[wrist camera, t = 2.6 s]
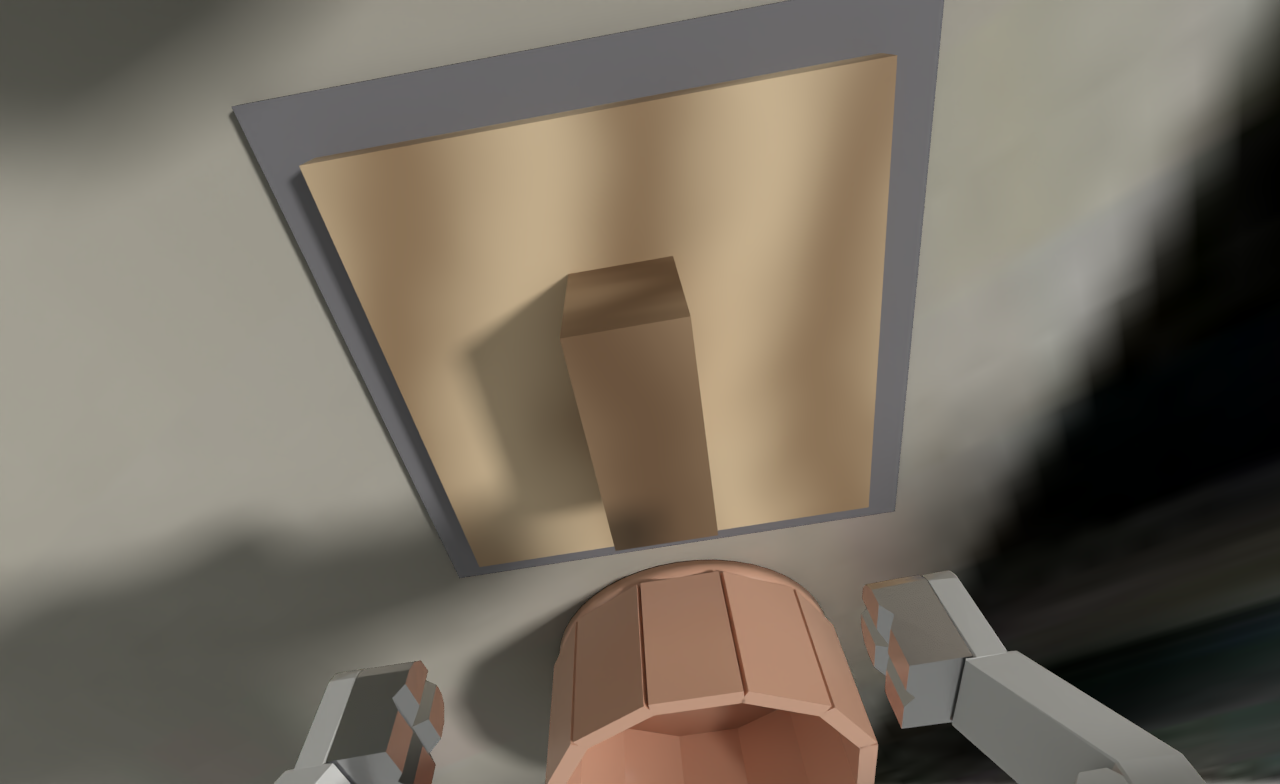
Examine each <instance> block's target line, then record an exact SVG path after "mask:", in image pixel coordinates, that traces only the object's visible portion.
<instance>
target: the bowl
mask: <svg viewBox="0 0 1280 784" xmlns="http://www.w3.org/2000/svg"><path fill="white" fill-rule="evenodd" d="M877 752H878V743H877V740H876V737H875V735H874V732H873V729H872V727H871V724H870V722H869V719H868V716H867V714H866V711H865V708H864V706H863V703H862V700H861V698H860V695H859V692H858V690H857V687H856V684H855V682H854V679H853V677H852V674H851V671H850V669H849V666H848V663H847V661H846V658H845V655H844V653H843V650H842V647H841V645H840V642H839V639H838V637H837V634H836V632H835V629H834V627H833V624H832V623H831V622H830V621H828V620H827V619H826V618H825V615H824V613H823V611H822V609H821V607H820V605H819V604H818V602H817V601H816V600H815V598H814V597H813V596H812V595H811V594H810V593H809V592H808V591H807V590H806V589H805V588H803V587H802V586H801V585H800V584H798V583H797V582H795V581H793V580H792V579H790V578H788V577H787V576H785V575H782V574H780V573H777V572H775V571H773V570H770V569H767V568H763V567H760V566H757V565H752V564H747V563H741V562H735V561H723V560H696V561H686V562H677V563H672V564H667V565H662V566H657V567H654V568H651V569H647V570H644V571H641V572H638V573H635V574H633V575H630V576H628V577H625V578H623V579H621V580H619V581H617V582H615V583H613V584H611V585H610V586H608V587H606V588H604V589H603V590H602V591H600V592H599V593H597V594H596V595H594V596H593V597H592V598H591V599H589V600H588V601H587V602H586V603H585V604H584V605H583V606H582V607H581V608H580V609H579V610H578V611H577V612H576V614H575V615H574V616H573V617H572V619H571V620H570V622H569V624H568V625H567V627H566V629H565V631H564V634H563V637H562V639H561V645H560V652H559V656H558V658H557V660H556V662H555V665H554V673H553V687H552V700H551V713H550V727H549V740H548V753H547V766H546V780H545V784H874V780H875V771H876V761H877Z"/></svg>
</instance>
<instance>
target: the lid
mask: <svg viewBox="0 0 1280 784" xmlns="http://www.w3.org/2000/svg"><path fill="white" fill-rule="evenodd" d="M896 69H897V55H892V54H885V53H878V54H873V55H868V56H862V57H857V58H851V59H846V60H841V61H835V62H830V63H825V64H819V65H814V66H808V67H803V68H798V69H792V70H787V71H781V72H776V73H771V74H765V75H760V76H754V77H749V78H744V79H738V80H733V81H727V82H722V83H717V84H711V85H706V86H700V87H695V88H690V89H684V90H679V91H673V92H668V93H663V94H657V95H652V96H646V97H641V98H636V99H630V100H625V101H619V102H614V103H609V104H603V105H598V106H592V107H587V108H582V109H576V110H571V111H565V112H560V113H555V114H549V115H544V116H538V117H533V118H528V119H522V120H517V121H511V122H506V123H501V124H495V125H490V126H484V127H479V128H474V129H468V130H463V131H457V132H452V133H447V134H441V135H436V136H430V137H425V138H420V139H414V140H409V141H403V142H398V143H393V144H387V145H382V146H376V147H371V148H366V149H360V150H355V151H349V152H344V153H339V154H333V155H328V156H322V157H317V158H314V159H312V160H310V161H308V162H306V163H304V164H302V165H300V166H299V167H300V169H301V171H302V174H303V176H304V178H305V180H306V183H307V185H308V187H309V189H310V191H311V194H312V196H313V198H314V200H315V203H316V205H317V207H318V209H319V211H320V214H321V216H322V218H323V220H324V223H325V225H326V227H327V229H328V231H329V234H330V236H331V238H332V240H333V243H334V245H335V247H336V249H337V251H338V254H339V256H340V258H341V260H342V263H343V265H344V267H345V269H346V271H347V274H348V276H349V278H350V280H351V283H352V285H353V287H354V289H355V291H356V294H357V296H358V298H359V300H360V303H361V305H362V307H363V309H364V311H365V314H366V316H367V318H368V320H369V323H370V325H371V327H372V329H373V331H374V334H375V336H376V338H377V340H378V343H379V345H380V347H381V349H382V351H383V354H384V356H385V358H386V360H387V363H388V365H389V367H390V369H391V371H392V374H393V376H394V378H395V380H396V383H397V385H398V387H399V389H400V391H401V394H402V396H403V398H404V400H405V403H406V405H407V407H408V409H409V411H410V414H411V416H412V418H413V420H414V423H415V425H416V427H417V429H418V431H419V434H420V436H421V438H422V440H423V443H424V445H425V447H426V449H427V451H428V454H429V456H430V458H431V460H432V463H433V465H434V467H435V469H436V471H437V474H438V476H439V478H440V480H441V483H442V485H443V487H444V489H445V491H446V494H447V496H448V498H449V500H450V503H451V505H452V507H453V509H454V511H455V514H456V516H457V518H458V520H459V523H460V525H461V527H462V529H463V531H464V534H465V536H466V538H467V540H468V543H469V545H470V547H471V549H472V551H473V554H474V556H475V558H476V560H477V563H478V565H479V567H484V566H490V565H497V564H503V563H510V562H516V561H523V560H529V559H536V558H542V557H549V556H555V555H562V554H568V553H575V552H581V551H588V550H594V549H601V548H607V547H615V551H619V550H625V549H632V548H638V547H645V546H652V545H658V544H665V543H671V542H678V541H684V540H691V539H697V538H704V537H710V536H717V535H718V530H724V529H731V528H737V527H744V526H750V525H756V524H763V523H769V522H776V521H782V520H789V519H795V518H802V517H808V516H815V515H821V514H828V513H834V512H841V511H847V510H854V509H860V508H867V507H869V493H870V477H871V462H872V446H873V430H874V415H875V399H876V383H877V367H878V352H879V336H880V320H881V305H882V289H883V273H884V257H885V242H886V226H887V210H888V195H889V179H890V163H891V147H892V132H893V116H894V100H895V85H896Z"/></svg>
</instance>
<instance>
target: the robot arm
mask: <svg viewBox="0 0 1280 784" xmlns="http://www.w3.org/2000/svg"><path fill="white" fill-rule="evenodd" d="M862 599H863V601H864V603H865V605H866V607H867V608H866V610H865V611H864V612H863V613H862V614H861V627H862V632H863V638H864V642H865V645H866V648H867V651H868V654H869V656H870V659H871V661H872V663H873V666H874V667H875V668H876V669H877V670H879V671H880V672H881V673H883V674H884V675H885V676H886V681H885V693H886V695H887V697H888V700H889V702H890V704H891V706H892V709H893V711H894V713H895V715H896V718H897V720H898V722H899V724H900V726H901V729H903V728H911V727H918V726H926V725H933V724H941V723H949V722H952V725H953V726H954V727H955V728H956V729H957V730H958V731H959V732H960V733H962V734H963V735H964V736H965V737H966V738H967V739H968V740H970V741H971V742H972V743H973V744H974V745H975V746H976V747H977V748H979V749H980V750H981V751H982V752H983V753H984V754H985V755H987V756H988V757H989V758H990V759H991V760H992V761H993V762H994V763H996V764H997V765H998V766H999V767H1000V768H1001V769H1002V770H1004V771H1005V772H1006V773H1007V774H1008V775H1009V776H1010V777H1011V778H1013V779H1014V780H1015V781H1016V782H1017V783H1018V784H1206V783H1205V781H1204V780H1203V779H1202V778H1201V776H1200V775H1199V774H1198V773H1197V771H1196V770H1195V769H1194V768H1193V767H1192V765H1191V764H1190V763H1189V762H1188V760H1187V759H1186V758H1185V757H1184V755H1183V754H1182V753H1180V752H1178V751H1177V750H1175V749H1174V748H1172V747H1170V746H1169V745H1167V744H1166V743H1164V742H1162V741H1161V740H1159V739H1158V738H1156V737H1154V736H1153V735H1151V734H1150V733H1148V732H1146V731H1145V730H1143V729H1142V728H1140V727H1138V726H1137V725H1135V724H1134V723H1132V722H1130V721H1129V720H1127V719H1126V718H1124V717H1122V716H1121V715H1119V714H1118V713H1116V712H1114V711H1113V710H1111V709H1110V708H1108V707H1106V706H1105V705H1103V704H1102V703H1100V702H1098V701H1097V700H1095V699H1093V698H1092V697H1090V696H1089V695H1087V694H1085V693H1084V692H1082V691H1081V690H1079V689H1077V688H1076V687H1074V686H1073V685H1071V684H1069V683H1068V682H1066V681H1065V680H1063V679H1061V678H1060V677H1058V676H1057V675H1055V674H1053V673H1052V672H1050V671H1049V670H1047V669H1045V668H1044V667H1042V666H1041V665H1039V664H1037V663H1036V662H1034V661H1033V660H1031V659H1029V658H1028V657H1026V656H1025V655H1023V654H1021V653H1020V652H1018V651H1008V652H1007V650H1006V649H1005V647H1004V646H1003V644H1002V643H1001V641H1000V640H999V638H998V637H997V635H996V634H995V632H994V631H993V629H992V628H991V626H990V625H989V623H988V622H987V620H986V619H985V617H984V616H983V614H982V613H981V611H980V610H979V608H978V607H977V605H976V604H975V602H974V601H973V599H972V598H971V596H970V595H969V593H968V592H967V591H966V589H965V588H964V586H963V585H962V583H961V582H960V580H959V579H958V577H957V576H956V575H955V574H954V573H953V572H951V571H941V572H936V573H931V574H925V575H914V576H909V577H903V578H898V579H893V580H887V581H882V582H876V583H871V584H866V585H865V586H864V588H863V593H862ZM427 673H428V670H427V669H426V667H425V666H424V664H423V663H422V661H414V662H408V663H401V664H394V665H387V666H381V667H374V668H367V669H360V670H354V671H348V672H342V673H336V674H335V676H334V677H333V678H332V679H331V680H330V682H329V683H328V685H327V688H326V690H325V693H324V695H323V698H322V700H321V703H320V705H319V708H318V710H317V713H316V715H315V718H314V720H313V722H312V725H311V727H310V730H309V732H308V735H307V737H306V740H305V742H304V745H303V747H302V750H301V752H300V755H299V757H298V760H297V762H296V765H295V767H294V769H290V770H286V771H285V772H284V773H283V774H282V775H281V776H280V777H279V778H278V779H277V780H276V781H275V782H274V783H273V784H431V783H432V779H433V774H434V769H435V763H434V761H433V758H432V756H431V754H430V752H431V751H432V749H433V748H434V747H435V746H436V744H437V743H438V742H439V740H440V739H441V736H442V731H443V725H444V702H443V698H442V694H441V692H440V690H439V688H438V687H437V685H435V684H433V683H431V682H429V681H427V680H426V677H427Z"/></svg>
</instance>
